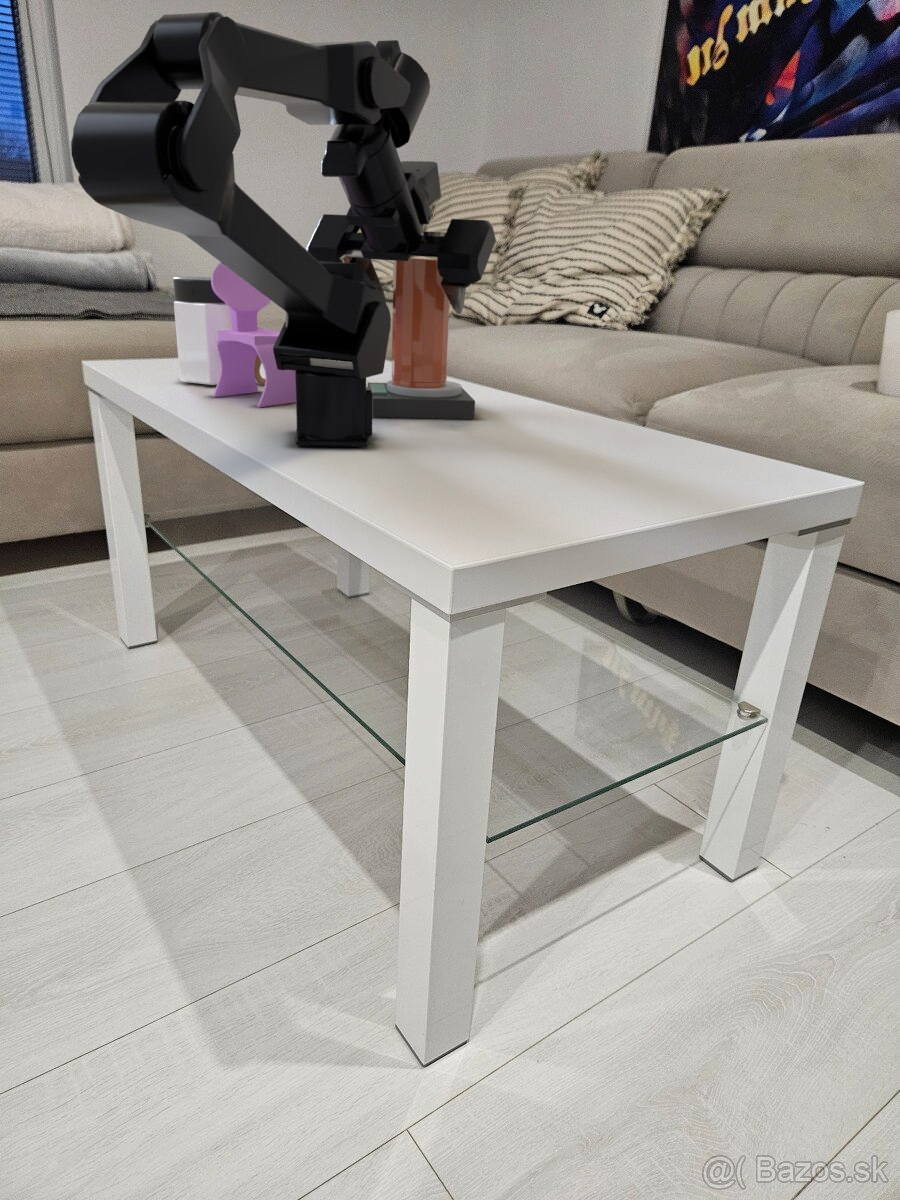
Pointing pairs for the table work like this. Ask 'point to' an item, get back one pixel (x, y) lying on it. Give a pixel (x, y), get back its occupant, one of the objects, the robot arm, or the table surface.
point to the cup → (419, 325)
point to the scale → (421, 401)
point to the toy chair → (248, 344)
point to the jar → (199, 329)
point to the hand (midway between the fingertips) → (421, 307)
